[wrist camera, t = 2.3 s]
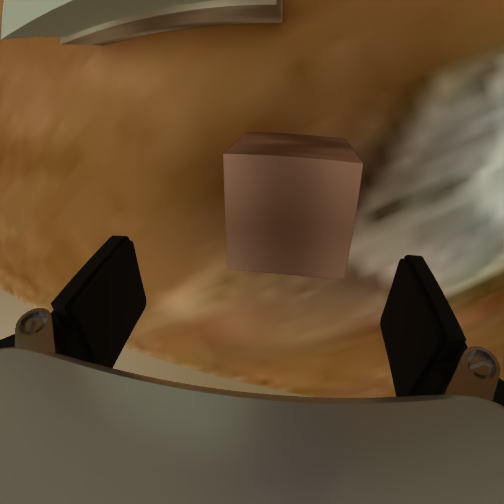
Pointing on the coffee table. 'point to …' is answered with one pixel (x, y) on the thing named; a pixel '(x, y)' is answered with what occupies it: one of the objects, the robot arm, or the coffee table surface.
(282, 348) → the coffee table surface
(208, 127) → the coffee table surface
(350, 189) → the terracotta cube
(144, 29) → the tower base
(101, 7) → the tower top
